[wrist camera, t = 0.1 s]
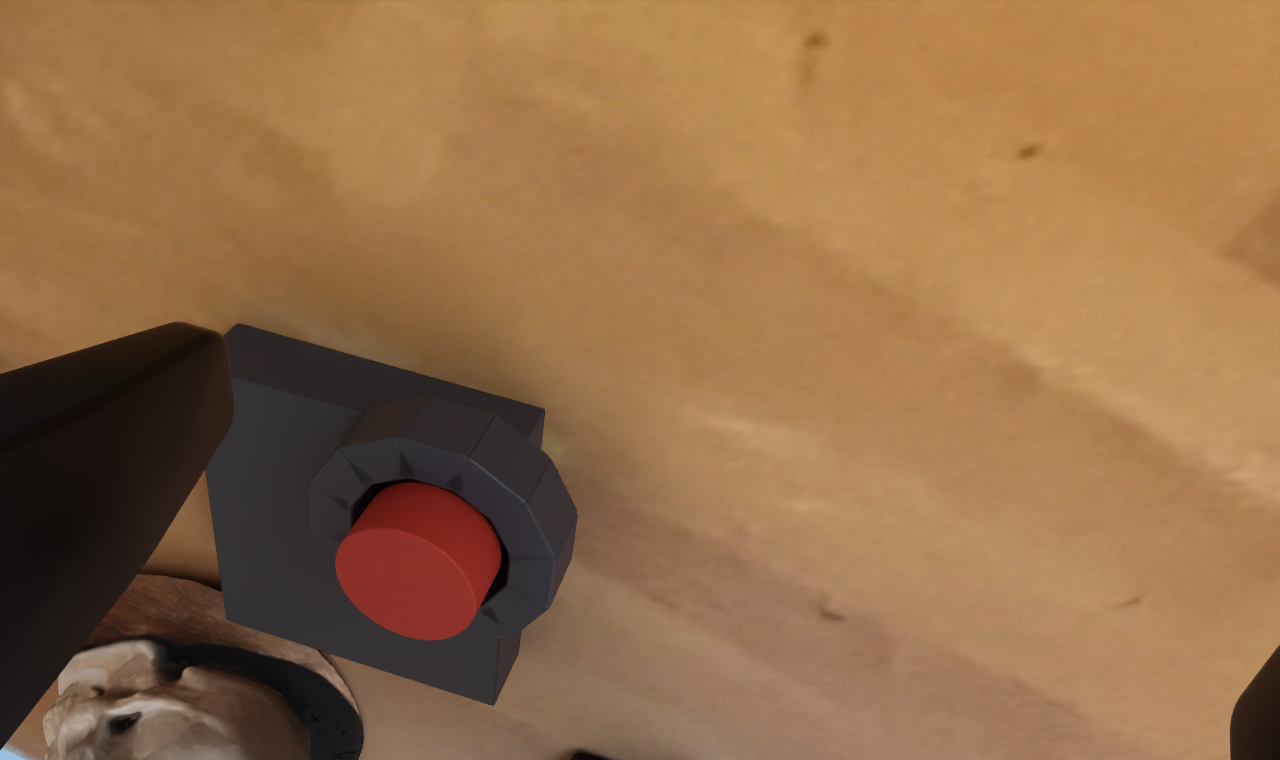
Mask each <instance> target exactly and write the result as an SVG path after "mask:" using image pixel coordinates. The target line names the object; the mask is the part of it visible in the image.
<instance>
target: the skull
mask: <svg viewBox="0 0 1280 760" xmlns="http://www.w3.org/2000/svg"><path fill="white" fill-rule="evenodd" d="M58 691H59V697H58V699H57V700H56V702H55V703H54V705H53V706H52V707H51V708H50V710H49V711H48V712H47V713H46V714H45V715H44V718H43V731H44V735H45V739H46V743H47V745H48V747H49V749H48V751H47V753H46V754H45V757H44V760H358V758H359V756H360V753H361V750H362V746H363V740H364V735H363V727H362V721H361V717H360V714H359V711H358V708H357V704H356V702H355V701H354V698H353V697H352V696H351V693H350V691H349V690H348V687H347V686H346V685H345V684H344V681H343V680H342V679H341V677H340V676H339V675H338V674H337V672H336V670H335V669H334V667H332V666H331V665H330V664H329V663H328V662H327V660H326V659H325V658H323V656H322V655H321V654H320V653H319V652H318V651H317V650H316V649H314V648H311V647H308V646H305V645H301V644H298V643H295V642H292V641H289V640H286V639H283V638H280V637H276V636H273V635H270V634H267V633H264V632H261V631H258V630H255V629H251V628H248V627H245V626H242V625H239V624H236V623H233V622H230V621H227V620H226V616H225V608H224V601H223V594H222V591H217V590H214V589H213V588H212V587H210V586H208V585H207V587H205V586H204V585H202V584H199V583H198V582H195V581H191V580H185V579H176V578H172V577H168V576H156V575H147V574H146V575H141V574H138V575H137V576H136V577H135V579H134V580H133V581H132V583H131V584H130V585H129V587H128V588H127V589H126V591H125V592H124V593H123V594H122V596H121V597H120V598H119V600H118V601H117V602H116V603H115V605H114V606H113V607H112V608H111V610H110V611H109V612H108V614H107V615H106V616H105V617H104V619H103V620H102V621H101V622H100V624H99V625H98V626H97V628H96V629H95V630H94V631H93V633H92V634H91V635H90V637H89V638H88V639H87V640H86V642H85V643H84V644H83V645H82V647H81V648H80V649H79V651H78V652H77V653H76V654H75V656H74V657H73V658H72V659H71V661H70V662H69V663H68V665H67V666H66V667H65V668H64V670H63V671H62V672H61V674H60V675H59V677H58Z"/></svg>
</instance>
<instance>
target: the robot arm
mask: <svg viewBox="0 0 1280 760" xmlns="http://www.w3.org/2000/svg"><path fill="white" fill-rule="evenodd" d="M233 415H234V398H233V389H232V380H231V371H230V362H229V353H228V347H227V343H226V341H225V339H224V337H223V336H222V335H221V334H219V333H218V332H216V331H214V330H210V329H207V328H203V327H199V326H196V325H192V324H189V323H185V322H172V323H168V324H165V325H162V326H158V327H155V328H152V329H148V330H145V331H142V332H138V333H135V334H132V335H128V336H125V337H122V338H118V339H115V340H112V341H108V342H105V343H102V344H98V345H95V346H92V347H88V348H85V349H82V350H79V351H75V352H72V353H69V354H65V355H62V356H59V357H55V358H52V359H49V360H45V361H42V362H39V363H35V364H32V365H29V366H25V367H22V368H19V369H15V370H12V371H9V372H5V373H2V374H0V750H1V749H2V747H3V746H4V745H5V744H6V742H7V741H8V740H9V739H10V737H11V736H12V735H13V733H14V732H15V731H16V730H17V728H18V727H19V726H20V725H21V723H22V722H23V721H24V719H25V718H26V717H27V716H28V714H29V713H30V712H31V711H32V709H33V708H34V707H35V705H36V704H37V703H38V702H39V700H40V699H41V698H42V696H43V695H44V694H45V693H46V691H47V690H48V689H49V688H50V686H51V685H52V684H53V682H54V681H55V680H56V679H57V677H58V676H59V675H60V674H61V672H62V671H63V670H64V668H65V667H66V666H67V665H68V663H69V662H70V661H71V659H72V658H73V657H74V656H75V654H76V653H77V652H78V651H79V649H80V648H81V647H82V645H83V644H84V643H85V642H86V640H87V639H88V638H89V637H90V635H91V634H92V633H93V631H94V630H95V629H96V628H97V626H98V625H99V624H100V622H101V621H102V620H103V619H104V617H105V616H106V615H107V614H108V612H109V611H110V610H111V608H112V607H113V606H114V605H115V603H116V602H117V601H118V600H119V598H120V597H121V596H122V594H123V593H124V592H125V591H126V589H127V588H128V587H129V585H130V584H131V583H132V581H133V580H134V579H135V577H136V576H137V575H138V573H139V572H140V571H141V569H142V568H143V566H144V565H145V563H146V562H147V560H148V559H149V557H150V556H151V554H152V553H153V551H154V550H155V549H156V547H157V546H158V544H159V542H160V541H161V539H162V537H163V536H164V534H165V533H166V531H167V529H168V528H169V526H170V525H171V523H172V521H173V520H174V518H175V517H176V515H177V513H178V512H179V510H180V508H181V507H182V505H183V504H184V502H185V500H186V499H187V497H188V496H189V494H190V492H191V491H192V489H193V488H194V486H195V484H196V483H197V481H198V480H199V478H200V476H201V475H202V473H203V471H204V470H205V468H206V467H207V465H208V463H209V462H210V460H211V459H212V457H213V455H214V454H215V452H216V451H217V449H218V447H219V446H220V444H221V442H222V441H223V439H224V438H225V436H226V434H227V432H228V430H229V428H230V426H231V423H232V419H233ZM1230 756H1231V760H1280V645H1279V646H1278V647H1277V649H1276V650H1275V651H1274V653H1273V654H1272V655H1271V656H1270V658H1269V659H1268V660H1267V662H1266V663H1265V664H1264V666H1263V667H1262V668H1261V670H1260V671H1259V672H1258V674H1257V675H1256V676H1255V678H1254V679H1253V680H1252V681H1251V683H1250V684H1249V685H1248V687H1247V688H1246V689H1245V691H1244V692H1243V693H1242V695H1241V696H1240V698H1239V699H1238V701H1237V703H1236V705H1235V707H1234V710H1233V713H1232V717H1231V724H1230ZM570 760H605V759H602V758H599V757H596V756H593V755H590V754H587V753H582V752H578V753H574V754H572V756H571V758H570Z"/></svg>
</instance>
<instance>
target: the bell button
mask: <svg viewBox="0 0 1280 760" xmlns="http://www.w3.org/2000/svg"><path fill="white" fill-rule="evenodd" d="M500 564H501V548H500V544H499V540H498V537H497V535H496V533H495V531H494V529H493V528H492V526H491V525H490V523H489V522H488V521H487V519H486V518H485V517H484V516H483V515H482V514H481V513H480V512H479V511H478V510H477V509H476V508H475V507H473V506H472V505H471V504H470V503H468V502H467V501H466V500H464V499H463V498H462V497H460V496H458V495H456V494H455V493H453V492H451V491H448V490H446V489H444V488H441V487H438V486H434V485H430V484H426V483H418V482H407V483H399V484H395V485H392V486H390V487H387V488H385V489H384V490H382V491H380V492H379V493H378V494H377V495H376V496H375V497H374V498H373V500H372V501H371V502H370V504H369V505H368V507H367V508H366V509H365V511H364V512H363V513H362V515H361V516H360V518H359V519H358V520H357V522H356V523H355V525H354V526H353V527H352V529H351V530H350V531H349V533H348V534H347V536H346V537H345V538H344V540H343V541H342V543H341V544H340V546H339V548H338V550H337V553H336V558H335V568H336V574H337V577H338V580H339V582H340V585H341V587H342V589H343V590H344V592H345V594H346V595H347V596H348V598H349V599H350V600H351V601H352V603H353V604H354V605H355V606H356V607H357V608H358V609H359V610H360V611H361V612H362V613H364V614H365V615H366V616H367V617H369V618H370V619H371V620H373V621H374V622H376V623H377V624H379V625H381V626H383V627H384V628H386V629H388V630H390V631H393V632H395V633H398V634H400V635H403V636H407V637H410V638H415V639H420V640H441V639H446V638H450V637H453V636H455V635H457V634H459V633H460V632H462V631H463V630H465V629H466V628H467V627H468V626H469V625H470V623H471V622H472V620H473V618H474V616H475V615H476V613H477V611H478V609H479V607H480V605H481V603H482V601H483V599H484V597H485V596H486V594H487V592H488V590H489V588H490V586H491V584H492V582H493V580H494V579H495V577H496V575H497V573H498V570H499V568H500Z"/></svg>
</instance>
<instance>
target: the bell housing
mask: <svg viewBox="0 0 1280 760" xmlns="http://www.w3.org/2000/svg"><path fill="white" fill-rule="evenodd" d="M223 337H224V339H225V341H226V343H227V347H228V353H229V362H230V371H231V380H232V389H233V398H234V415H233V419H232V423H231V426H230V428H229V430H228V432H227V434H226V436H225V438H224V439H223V441H222V442H221V444H220V446H219V447H218V449H217V451H216V452H215V454H214V455H213V457H212V459H211V460H210V462H209V463H208V465H207V467H206V468H205V471H206V478H207V486H208V493H209V500H210V507H211V514H212V522H213V529H214V536H215V543H216V551H217V558H218V565H219V572H220V579H221V587H222V594H223V601H224V608H225V616H226V620H227V621H230V622H233V623H236V624H239V625H242V626H245V627H248V628H251V629H255V630H258V631H261V632H264V633H267V634H270V635H273V636H276V637H280V638H283V639H286V640H289V641H292V642H295V643H298V644H301V645H305V646H308V647H311V648H314V649H317V650H320V651H323V652H326V653H329V654H333V655H336V656H339V657H342V658H345V659H348V660H351V661H354V662H358V663H361V664H364V665H367V666H370V667H373V668H376V669H379V670H383V671H386V672H389V673H392V674H395V675H398V676H401V677H404V678H408V679H411V680H414V681H417V682H420V683H423V684H426V685H429V686H432V687H436V688H439V689H442V690H445V691H448V692H451V693H454V694H457V695H461V696H464V697H467V698H470V699H473V700H476V701H479V702H482V703H486V704H489V705H492V706H494V705H495V703H496V701H497V698H498V696H499V694H500V692H501V690H502V688H503V685H504V683H505V681H506V679H507V677H508V675H509V673H510V670H511V668H512V666H513V664H514V662H515V660H516V657H517V655H518V653H519V645H520V636H521V630H522V629H523V628H525V627H526V626H527V625H528V624H530V623H531V622H532V621H533V620H535V619H536V618H537V617H538V616H540V615H541V614H542V613H543V612H545V611H546V610H547V609H549V607H550V605H551V603H552V601H553V599H554V597H555V594H556V592H557V590H558V588H559V586H560V583H561V581H562V579H563V577H564V575H565V572H566V570H567V568H568V566H569V564H570V561H571V559H572V552H573V545H574V538H575V531H576V524H577V517H578V516H577V509H576V507H575V505H574V503H573V501H572V499H571V497H570V495H569V493H568V491H567V489H566V487H565V485H564V483H563V481H562V479H561V477H560V475H559V473H558V471H557V469H556V467H555V465H554V463H553V461H552V460H551V459H549V456H548V455H547V454H545V453H544V452H543V451H542V450H541V444H542V435H543V426H544V416H545V409H542V408H539V407H535V406H532V405H528V404H525V403H521V402H517V401H514V400H510V399H507V398H503V397H500V396H496V395H492V394H489V393H485V392H482V391H478V390H474V389H471V388H467V387H464V386H460V385H457V384H453V383H449V382H446V381H442V380H439V379H435V378H432V377H428V376H424V375H421V374H417V373H414V372H410V371H407V370H403V369H399V368H396V367H392V366H389V365H385V364H382V363H378V362H374V361H371V360H367V359H364V358H360V357H357V356H353V355H349V354H346V353H342V352H339V351H335V350H331V349H328V348H324V347H321V346H317V345H314V344H310V343H306V342H303V341H299V340H296V339H292V338H289V337H285V336H281V335H278V334H274V333H271V332H267V331H264V330H260V329H256V328H253V327H249V326H246V325H242V324H236V325H235V326H234V327H233V328H232V329H231V330H230V331H228V332H227V333H226V334H225V335H224V336H223ZM407 482H418V483H426V484H430V485H434V486H438V487H441V488H444V489H446V490H448V491H451V492H453V493H455V494H456V495H458V496H460V497H462V498H463V499H464V500H466V501H467V502H468V503H470V504H471V505H472V506H473V507H475V508H476V509H477V510H478V511H479V512H480V513H481V514H482V515H483V516H484V517H485V518H486V519H487V521H488V522H489V523H490V525H491V526H492V528H493V529H494V531H495V533H496V535H497V537H498V540H499V544H500V548H501V564H500V568H499V570H498V573H497V575H496V577H495V579H494V580H493V582H492V584H491V586H490V588H489V590H488V592H487V594H486V596H485V597H484V599H483V601H482V603H481V605H480V607H479V609H478V611H477V613H476V615H475V616H474V618H473V620H472V622H471V623H470V625H469V626H468V627H467V628H466V629H465V630H463V631H462V632H460V633H459V634H457V635H455V636H453V637H450V638H446V639H441V640H420V639H415V638H410V637H407V636H403V635H400V634H398V633H395V632H393V631H390V630H388V629H386V628H384V627H383V626H381V625H379V624H377V623H376V622H374V621H373V620H371V619H370V618H369V617H367V616H366V615H365V614H364V613H362V612H361V611H360V610H359V609H358V608H357V607H356V606H355V605H354V604H353V603H352V601H351V600H350V599H349V598H348V596H347V595H346V594H345V592H344V590H343V589H342V587H341V585H340V582H339V580H338V577H337V574H336V568H335V558H336V553H337V550H338V548H339V546H340V544H341V543H342V541H343V540H344V538H345V537H346V536H347V534H348V533H349V531H350V530H351V529H352V527H353V526H354V525H355V523H356V522H357V520H358V519H359V518H360V516H361V515H362V513H363V512H364V511H365V509H366V508H367V507H368V505H369V504H370V502H371V501H372V500H373V498H374V497H375V496H376V495H377V494H378V493H379V492H380V491H382V490H384V489H385V488H387V487H390V486H392V485H395V484H399V483H407Z"/></svg>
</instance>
